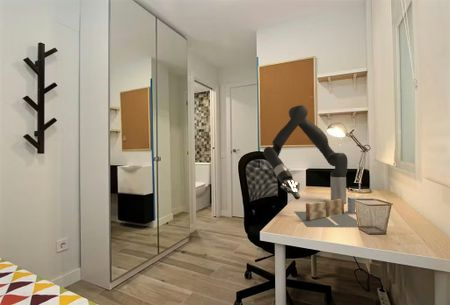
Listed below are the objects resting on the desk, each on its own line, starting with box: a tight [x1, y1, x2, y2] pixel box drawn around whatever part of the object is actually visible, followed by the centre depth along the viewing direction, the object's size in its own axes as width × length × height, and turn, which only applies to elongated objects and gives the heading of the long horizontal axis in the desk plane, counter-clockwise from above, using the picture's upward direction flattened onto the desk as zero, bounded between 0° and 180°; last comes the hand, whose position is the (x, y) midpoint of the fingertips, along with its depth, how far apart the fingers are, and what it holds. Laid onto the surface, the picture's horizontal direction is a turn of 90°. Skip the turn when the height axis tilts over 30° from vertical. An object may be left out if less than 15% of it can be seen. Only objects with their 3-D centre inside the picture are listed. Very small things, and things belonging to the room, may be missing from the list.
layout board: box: [294, 211, 359, 228], centre depth 113 cm, size 26×27×1 cm
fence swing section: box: [305, 201, 326, 220], centre depth 113 cm, size 13×2×8 cm, turn 115°
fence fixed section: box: [323, 198, 345, 217], centre depth 119 cm, size 14×2×9 cm, turn 115°
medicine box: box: [347, 196, 366, 215], centre depth 123 cm, size 8×4×9 cm, turn 84°
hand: (298, 198), depth 119 cm, fingers closed
